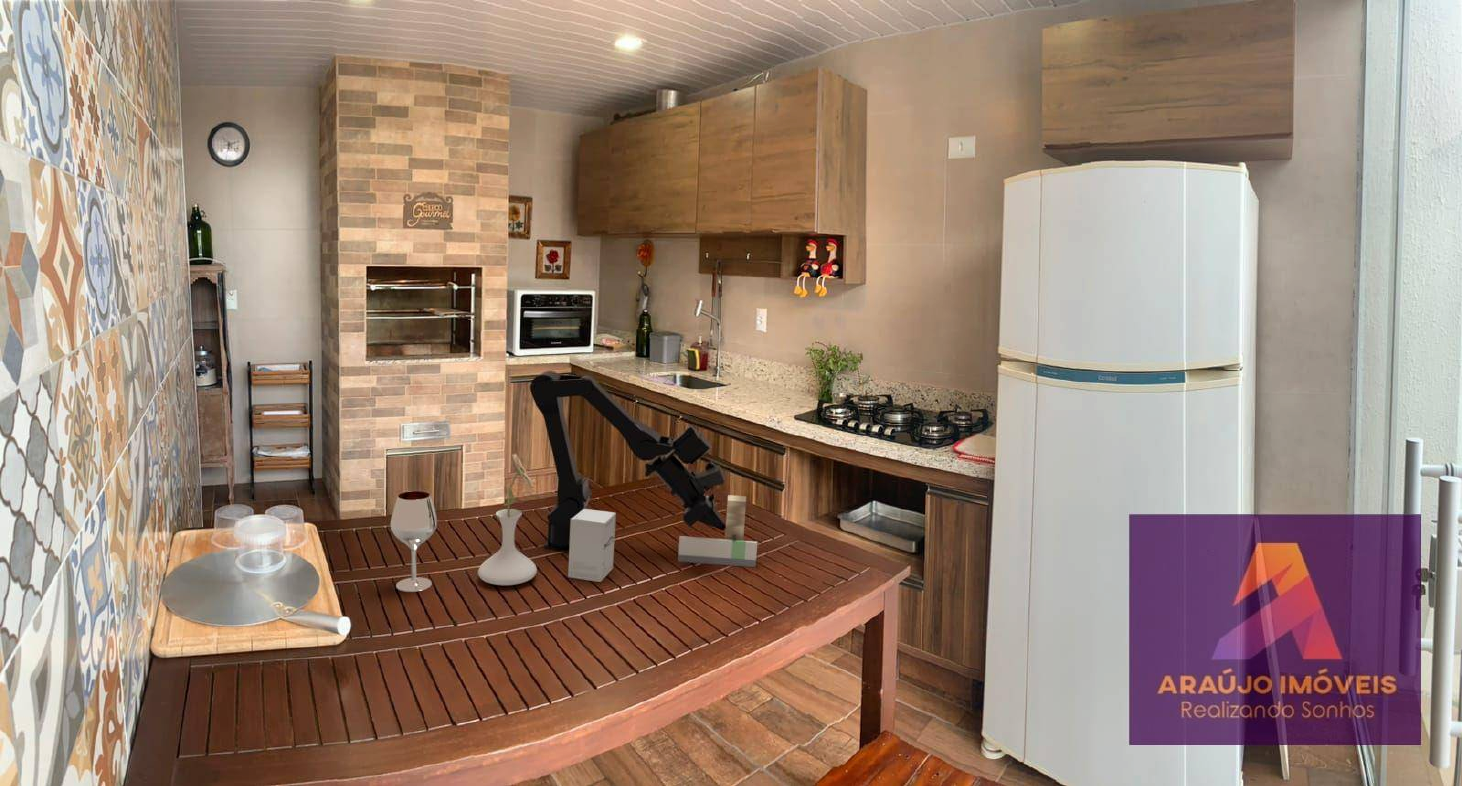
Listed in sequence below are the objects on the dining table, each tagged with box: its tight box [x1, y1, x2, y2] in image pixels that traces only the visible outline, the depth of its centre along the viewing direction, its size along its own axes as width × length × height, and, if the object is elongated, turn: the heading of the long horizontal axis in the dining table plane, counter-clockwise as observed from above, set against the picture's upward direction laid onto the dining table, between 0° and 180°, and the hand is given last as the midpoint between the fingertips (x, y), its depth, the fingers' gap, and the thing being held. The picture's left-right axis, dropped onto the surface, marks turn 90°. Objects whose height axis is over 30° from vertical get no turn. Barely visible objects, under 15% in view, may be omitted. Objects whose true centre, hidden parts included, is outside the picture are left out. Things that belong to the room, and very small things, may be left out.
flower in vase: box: [477, 453, 538, 586], centre depth 159 cm, size 13×11×25 cm
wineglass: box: [390, 490, 438, 593], centre depth 153 cm, size 8×8×18 cm
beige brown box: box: [724, 494, 747, 541], centre depth 177 cm, size 5×6×12 cm
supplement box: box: [567, 508, 617, 583], centre depth 165 cm, size 7×7×13 cm
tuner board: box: [677, 535, 758, 568], centre depth 179 cm, size 17×8×6 cm, turn 90°
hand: (724, 528), depth 179 cm, fingers closed, pressing on beige brown box
